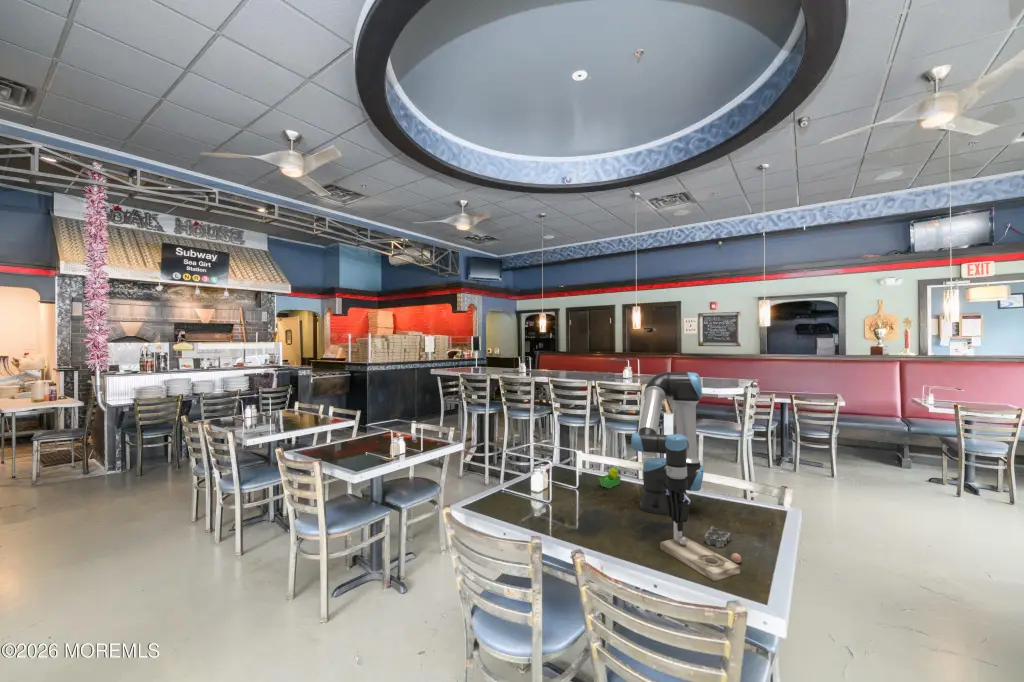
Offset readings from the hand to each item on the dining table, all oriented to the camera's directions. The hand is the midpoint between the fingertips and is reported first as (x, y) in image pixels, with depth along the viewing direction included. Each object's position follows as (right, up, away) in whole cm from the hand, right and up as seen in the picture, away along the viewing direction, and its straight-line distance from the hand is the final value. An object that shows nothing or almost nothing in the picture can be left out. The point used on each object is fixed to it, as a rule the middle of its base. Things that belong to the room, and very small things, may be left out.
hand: (677, 538), depth 163 cm
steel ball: (+1, 0, -2) cm, 2 cm away
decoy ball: (+17, -2, -11) cm, 20 cm away
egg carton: (+18, -4, +6) cm, 19 cm away
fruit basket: (-9, -5, +73) cm, 74 cm away
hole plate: (+4, -4, -8) cm, 10 cm away
